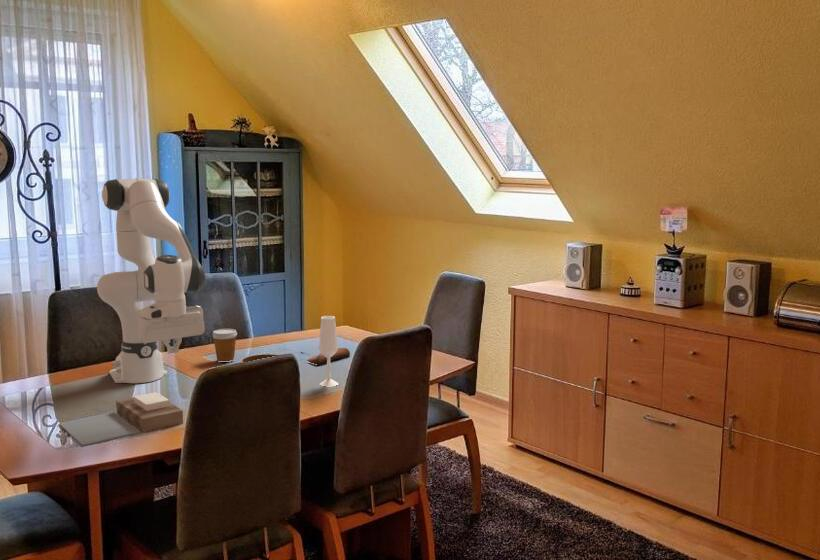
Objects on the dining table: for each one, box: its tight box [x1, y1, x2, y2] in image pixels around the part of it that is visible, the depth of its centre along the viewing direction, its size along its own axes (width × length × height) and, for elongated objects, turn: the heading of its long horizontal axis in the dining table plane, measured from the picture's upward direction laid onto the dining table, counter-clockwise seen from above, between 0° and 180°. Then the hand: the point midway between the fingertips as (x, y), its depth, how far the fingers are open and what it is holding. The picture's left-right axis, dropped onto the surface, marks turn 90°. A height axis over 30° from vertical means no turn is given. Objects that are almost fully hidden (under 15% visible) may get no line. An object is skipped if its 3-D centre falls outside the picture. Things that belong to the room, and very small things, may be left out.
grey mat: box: [58, 411, 141, 447], centre depth 221 cm, size 22×16×1 cm
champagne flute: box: [318, 315, 339, 388], centre depth 264 cm, size 7×7×24 cm
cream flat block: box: [133, 391, 170, 411], centre depth 231 cm, size 10×7×2 cm
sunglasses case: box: [306, 347, 351, 366], centre depth 297 cm, size 18×7×7 cm
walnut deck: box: [115, 396, 184, 433], centre depth 230 cm, size 22×12×4 cm, turn 40°
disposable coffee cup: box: [211, 328, 238, 361], centre depth 294 cm, size 10×10×12 cm
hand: (173, 352), depth 233 cm, fingers closed
